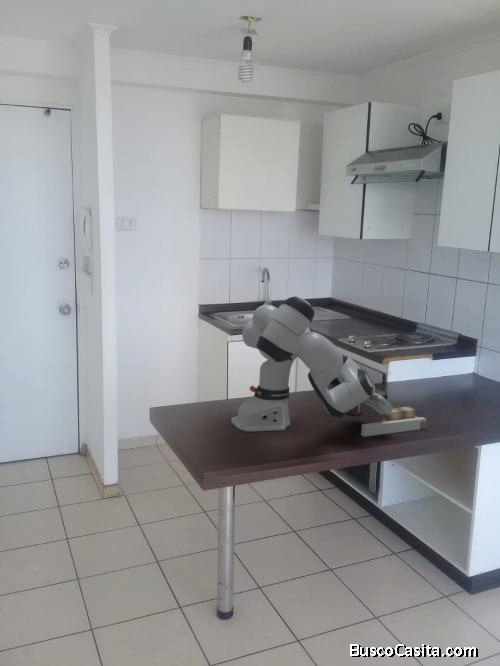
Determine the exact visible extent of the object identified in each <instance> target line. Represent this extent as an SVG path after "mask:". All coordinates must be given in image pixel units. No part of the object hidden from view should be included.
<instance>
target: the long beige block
mask: <svg viewBox="0 0 500 666" xmlns="http://www.w3.org/2000/svg"><path fill="white" fill-rule="evenodd" d="M415 416H416V409H415V408H413V407H411V406H402V407H393V410H392V411H391V413H390V414H389V415H385V414H382V421H381V422H386V421H394V420H403V419H411V418H415Z"/></svg>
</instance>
